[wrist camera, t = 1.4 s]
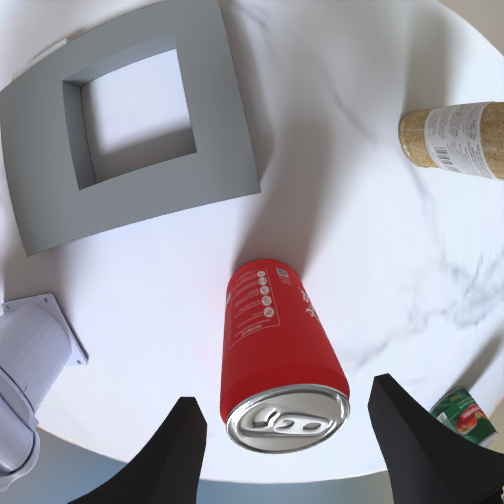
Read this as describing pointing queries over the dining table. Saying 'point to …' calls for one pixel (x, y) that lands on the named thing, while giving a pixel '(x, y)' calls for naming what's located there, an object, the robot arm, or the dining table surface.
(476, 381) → the dining table surface
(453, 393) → the canned tomato
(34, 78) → the grey tray with recess
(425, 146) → the sprinkles bottle
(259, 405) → the red soda can
